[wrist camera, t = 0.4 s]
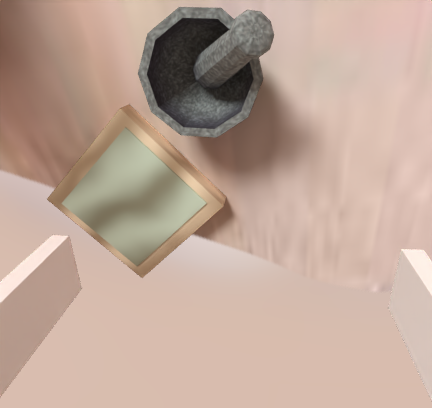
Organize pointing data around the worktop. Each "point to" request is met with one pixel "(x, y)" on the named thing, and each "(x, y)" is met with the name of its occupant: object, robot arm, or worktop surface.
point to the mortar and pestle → (204, 68)
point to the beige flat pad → (136, 193)
